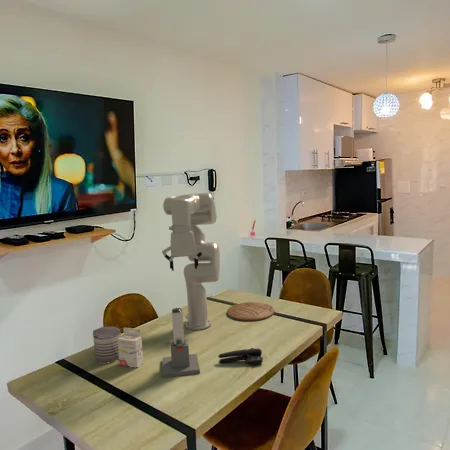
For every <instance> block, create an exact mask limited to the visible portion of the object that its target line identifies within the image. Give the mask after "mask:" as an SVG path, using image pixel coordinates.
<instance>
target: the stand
mask: <svg viewBox="0 0 450 450" xmlns="http://www.w3.org/2000/svg"><path fill="white" fill-rule="evenodd" d="M184 341H185V345H183V343H179V344H176V346H174V340H173V339H170V354H171V356H162V378H163V377H164V378H170V377H171V376H172V377H178V376H179V377H180V376H187V375H188V376H189V375H196V374H201V368H200V364H199V360H198V354H197V353H191V354H190V351H189V341H188V338H184ZM172 377H171V378H172Z"/></svg>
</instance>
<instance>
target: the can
mask: <svg viewBox="0 0 450 450" xmlns="http://www.w3.org/2000/svg"><path fill="white" fill-rule="evenodd" d="M121 332H122V331H121V328H118V327H116V326H101V327H99V328H96V329H93V331H92V337H93V348H94V349H93V351H94V359H96V360H95V361H97V362H101V363H107V364H109V363H108V362H113V361H116V360H118V359H119V350H118V338H119V337H121V336H122V333H121ZM118 361H119V360H118ZM97 362H96V363H97ZM116 362H117V361H116ZM101 363H100V364H101ZM113 363H114V362H113Z"/></svg>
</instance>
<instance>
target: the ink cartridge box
mask: <svg viewBox="0 0 450 450" xmlns="http://www.w3.org/2000/svg"><path fill="white" fill-rule="evenodd" d="M122 329H123V334H121V337H119V338H118V350H119V360H118V362H119V366H120V365H123V366H122V367H126V366H130V367H129V368H132V367H138V368H140V366H141V365H143V364H144V356H143V355H144V354H143V352H144V351H143V342H142V333H141V329H140V328H135V327H134V328H132V327H123V328H122Z"/></svg>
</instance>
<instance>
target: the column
mask: <svg viewBox="0 0 450 450" xmlns="http://www.w3.org/2000/svg"><path fill="white" fill-rule="evenodd" d="M183 313H184V312H183V309H182V308H181V307H176V308H172V309H171V319H172V334H173V335H172V336H173V339H172V340H174V346H176V344H179V343H183V345H185V341H184V339H185V329H184V316H183Z"/></svg>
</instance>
